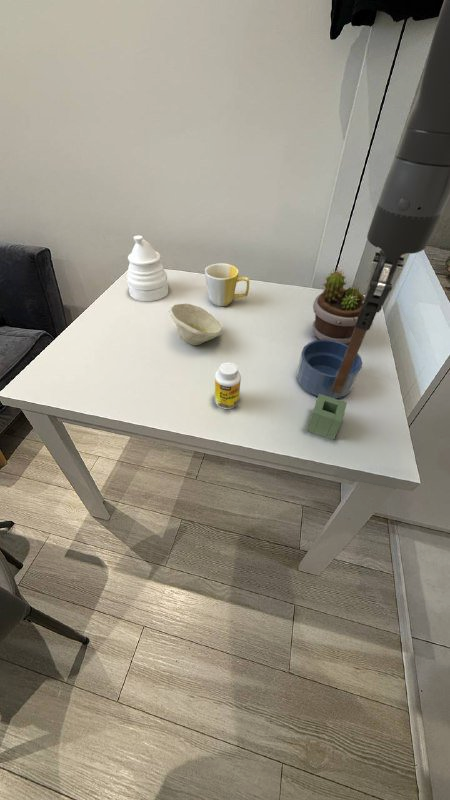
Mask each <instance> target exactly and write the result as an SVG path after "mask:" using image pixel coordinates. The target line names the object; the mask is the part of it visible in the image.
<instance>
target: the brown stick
mask: <svg viewBox="0 0 450 800" xmlns="http://www.w3.org/2000/svg"><path fill="white" fill-rule="evenodd" d="M367 331H368V330H362V329H358V328H356V326H355V329H354V332H353V334H352V337H351V339H350V342H348V344H347V345H348V347H347V350H346V353H345V355H344V358H343V361H342V363H341V366H340V369H339V371H338V374H337V377H336V379H335V382H334V385H333V388H332V392H335V393H338V394H341V392H342V390H343V387H344V385H345V382H346V380H347V377H348V375H349V373H350V370H351V368H352V365H353V363H354V360H355V358H356V356H357V353H358V354H359V350H360V348H361V346H362V343H363V341H364V338H365V336H366V333H367Z"/></svg>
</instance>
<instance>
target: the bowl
mask: <svg viewBox="0 0 450 800" xmlns="http://www.w3.org/2000/svg"><path fill="white" fill-rule="evenodd" d="M168 313H169V314H170V317H171V319H172V321H173V322H174V323H175V325H176V327H177V328H176V329H177V330H176V331H177V335H178V337H179V338H180V340H182V341H183V342H185V343H187V344H190V345H193V346H199V345H202V344H203V343H205V342H208V341H210V340H213V339H215V338H216V337H218V336H221V335H222V334H224V328H223V326H222V324H221V322H220V321H219V320H218V319H217V318H216V317H215V316H214V315H213V314H211V313H210V312H208V311H207V310H205V309H204V308H202V307H201V306H197V305H194V304H190V303H178V304H174V305H172V306H170V308H169V310H168Z"/></svg>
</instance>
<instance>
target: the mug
mask: <svg viewBox="0 0 450 800" xmlns="http://www.w3.org/2000/svg"><path fill="white" fill-rule="evenodd" d="M239 273H240V271H239V269H238V268H237V267H236V266H234V265H233V264H229V263H221V262H220V263H213V264H210V265H208V266H207V267H205V269H204V276H205V281H206V287H207V293H208V299H209V301H210V302H211V303H212V304H213V305H215V306H218V307H226V306H228V305H229V304H230V303H232V301H233V300H234V299H239V298H241V299H242V298H246V297H248V295H249V291H250V278H249V277H248V276H239ZM243 281H244V282H246V290H245V293H235V292H236V287H237V283H239V282H243Z"/></svg>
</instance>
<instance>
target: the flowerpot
mask: <svg viewBox="0 0 450 800" xmlns="http://www.w3.org/2000/svg"><path fill="white" fill-rule="evenodd" d="M332 270H333V271H331V272H329V273H328V275H325V277H324V280H326V281H324V282H323V284H321V285H322V287H324V288H323V291H321V293H320V294H318V295H317V296H316V297H315V299H314V301H313V305H312V311H313V312H314V319H315V320H314V321H313V324H312V331H313V332H312V333H313V335H314V337H315V338H316V340H334V341H337V342H341V343H343V344H346V345H348V344H349V342H350V339H351V337H352V334H353V332H354V329H355V325H356V322H357V319H358V315H359V313H360V310H361V307H362V306H361V305H362V302H363V301H364V299H365V295H363V294H362V293H361V291H360V286H357V284H353V285H352V284H351V285H349V286H348V287H347V286H346V285H348V281H347V280H346V281H345V279H346V278H347V277H349V276H347V275H345V272H343V271H342V269H340V270H339V267H338V266H336V269H332ZM344 287H345V288H344ZM346 288H347V289H346Z"/></svg>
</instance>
